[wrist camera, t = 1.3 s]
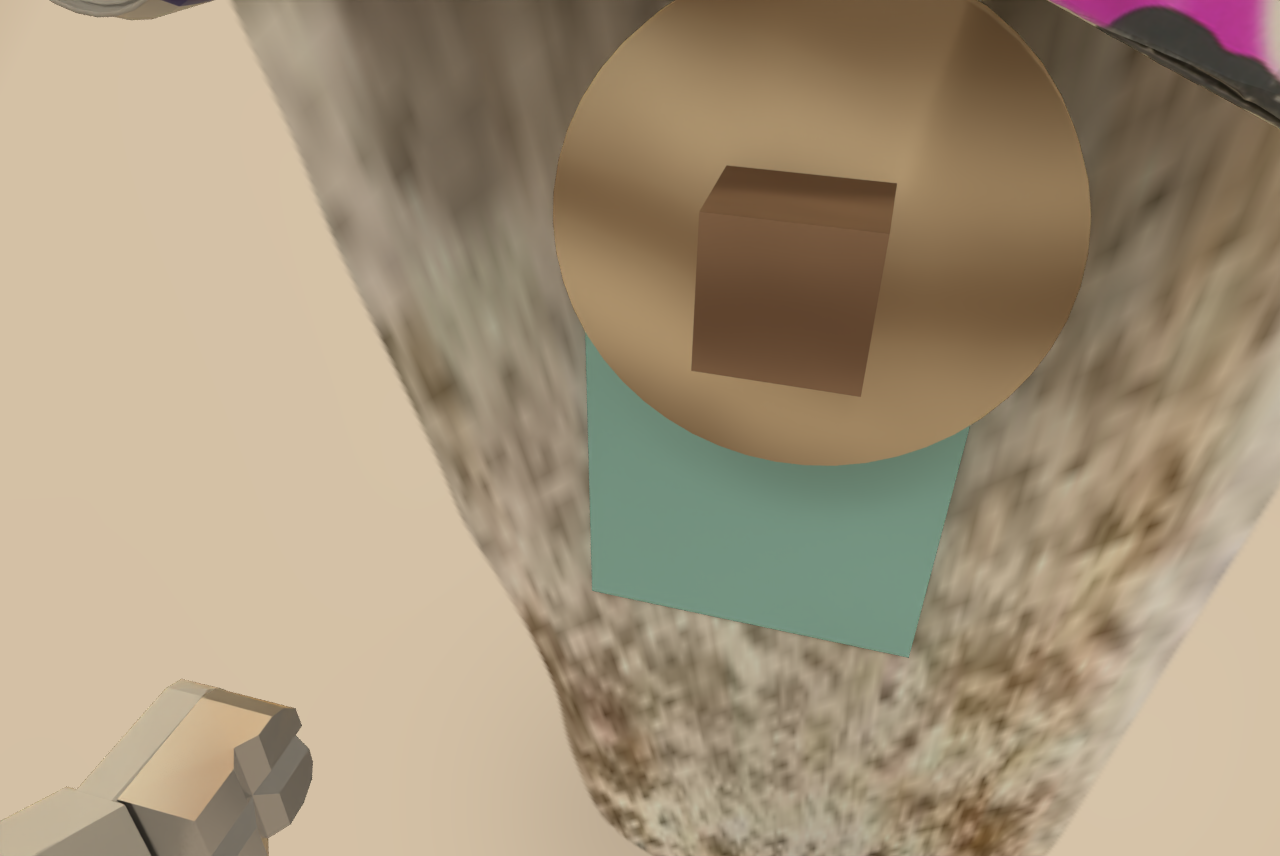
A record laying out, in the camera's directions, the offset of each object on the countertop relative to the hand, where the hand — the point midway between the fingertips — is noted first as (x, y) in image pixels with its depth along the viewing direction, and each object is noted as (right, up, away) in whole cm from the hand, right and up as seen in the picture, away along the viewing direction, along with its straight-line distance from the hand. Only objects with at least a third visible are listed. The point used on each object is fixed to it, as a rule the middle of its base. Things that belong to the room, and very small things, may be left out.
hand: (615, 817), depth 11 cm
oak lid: (+5, +10, +13) cm, 17 cm away
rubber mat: (+5, +2, +25) cm, 26 cm away
